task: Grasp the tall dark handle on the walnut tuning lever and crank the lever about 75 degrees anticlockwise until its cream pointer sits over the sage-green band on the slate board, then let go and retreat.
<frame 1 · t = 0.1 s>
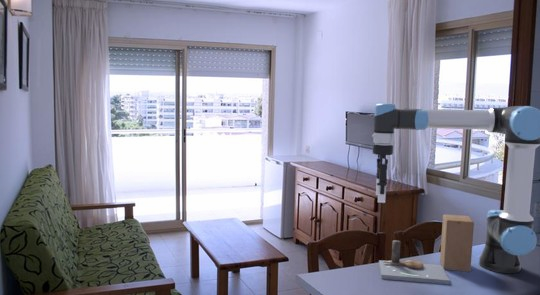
hand: (380, 198, 183), 28 cm above the table, fingers open, 13 cm apart
board: (412, 273, 182), on the table
wooden block: (454, 267, 190), on the table
dial: (403, 253, 185), point 6 cm above the table, hinge at 0.0°
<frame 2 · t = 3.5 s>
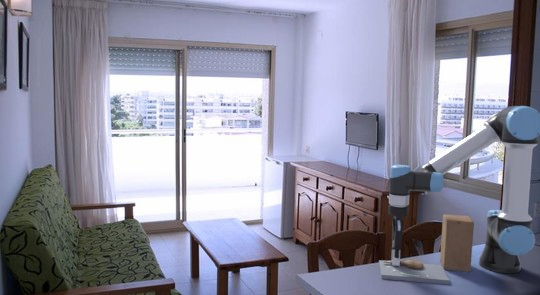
hand: (395, 263, 186), 2 cm above the table, fingers closed on dial, 3 cm apart
dial: (403, 253, 185), point 6 cm above the table, hinge at 0.0°, touching gripper
everything else where it was.
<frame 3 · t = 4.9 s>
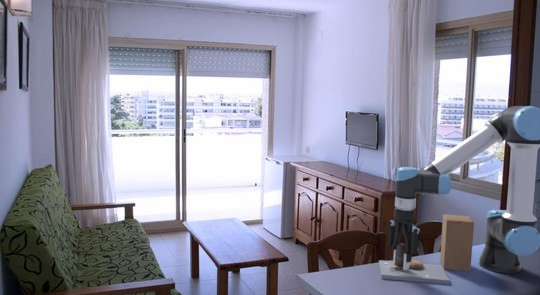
hand: (401, 267, 182), 2 cm above the table, fingers open, 4 cm apart
dial: (406, 255, 183), point 6 cm above the table, hinge at 34.3°, touching gripper
everything else where it was.
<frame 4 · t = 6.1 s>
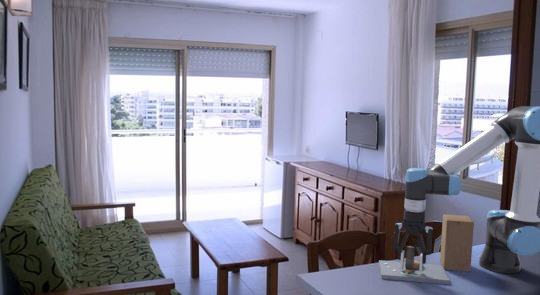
hand: (411, 269, 179), 2 cm above the table, fingers open, 6 cm apart
dial: (411, 257, 181), point 6 cm above the table, hinge at 69.3°
everything else where it was.
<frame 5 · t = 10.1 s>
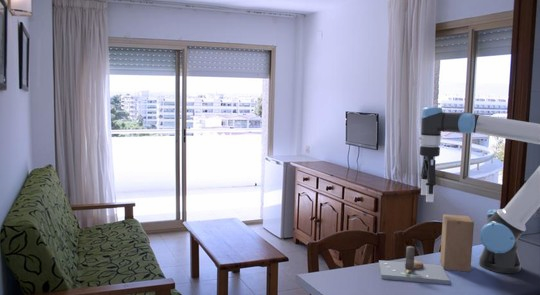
hand: (426, 198, 191), 27 cm above the table, fingers open, 13 cm apart
nothing on the table moved.
at the end: dial at +69° (first picture: +0°); the gripper is holding nothing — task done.
